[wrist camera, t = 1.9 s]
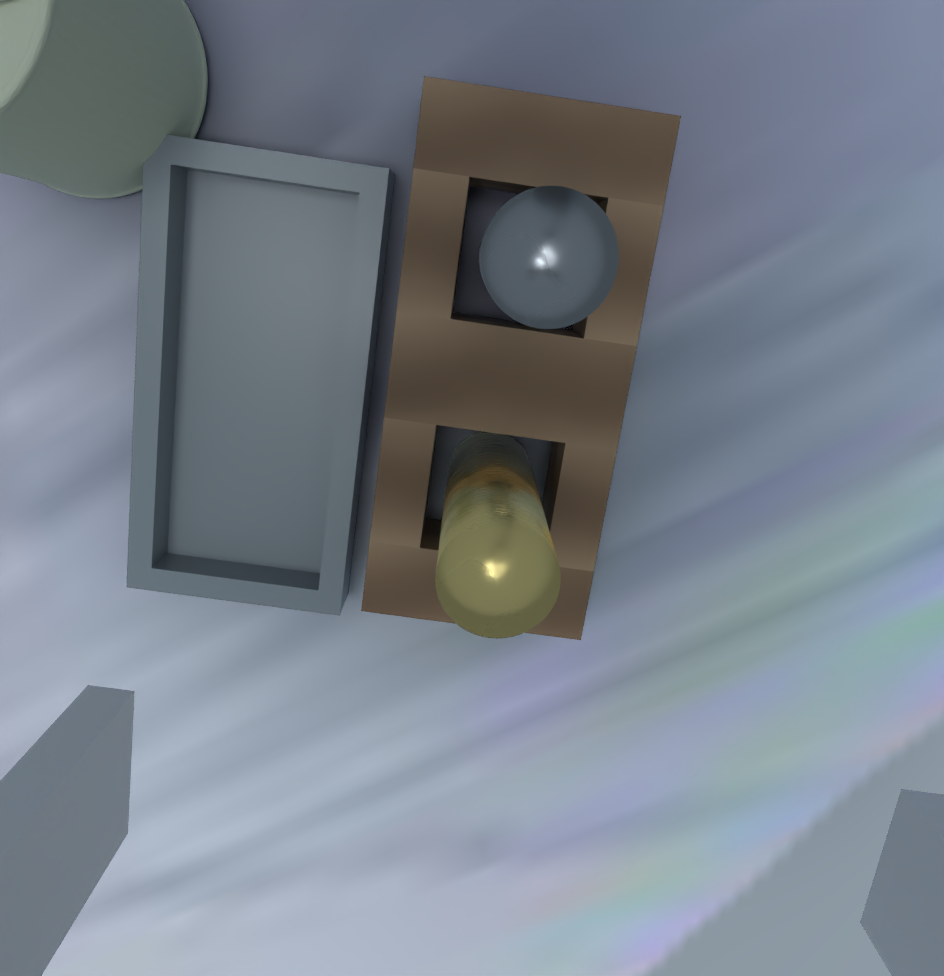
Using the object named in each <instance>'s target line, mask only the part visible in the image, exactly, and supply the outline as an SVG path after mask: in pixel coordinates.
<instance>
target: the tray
mask: <svg viewBox="0 0 944 976" xmlns="http://www.w3.org/2000/svg"><path fill="white" fill-rule="evenodd" d="M394 181H395V174H394V173H393V172H392V171H391V170H390V169H389V168H384V167H377V166H370V165H364V164H357V163H351V162H344V161H337V160H331V159H324V158H318V157H311V156H304V155H298V154H291V153H284V152H278V151H271V150H265V149H258V148H251V147H245V146H238V145H232V144H225V143H218V142H212V141H205V140H198V139H192V138H185V137H179V136H172V135H166V137H165V138H164V140H163V141H162V143H161V144H160V146H159V147H158V148H157V149H156V150H155V152H154V153H153V154H152V155H151V156H150V157H149V158H148V159H147V160H146V161H145V162H144V163H143V186H142V211H141V236H140V261H139V286H138V312H137V337H136V362H135V387H134V412H133V438H132V463H131V488H130V513H129V538H128V564H127V587H128V588H136V589H144V590H151V591H159V592H166V593H174V594H181V595H189V596H197V597H204V598H212V599H219V600H227V601H234V602H242V603H250V604H257V605H265V606H272V607H280V608H287V609H295V610H303V611H310V612H318V613H325V614H333V615H340V614H341V611H342V608H343V606H344V603H345V600H346V598H347V595H348V590H349V582H350V573H351V564H352V555H353V546H354V537H355V528H356V519H357V510H358V501H359V493H360V484H361V475H362V466H363V457H364V448H365V439H366V430H367V421H368V412H369V404H370V395H371V386H372V377H373V368H374V359H375V350H376V341H377V332H378V323H379V315H380V306H381V297H382V288H383V279H384V270H385V261H386V252H387V243H388V234H389V226H390V217H391V208H392V199H393V190H394Z"/></svg>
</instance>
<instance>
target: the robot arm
mask: <svg viewBox="0 0 944 976" xmlns="http://www.w3.org/2000/svg"><path fill="white" fill-rule="evenodd" d="M133 711H134V691H129V690H121V689H114V688H106V687H98V686H90V685H88V686H87V687H86V688H85V689H84V690H83V691H82V692H81V694H80V695H79V696H78V697H77V698H76V699H75V700H74V701H73V702H72V703H71V704H70V706H69V707H68V708H67V709H66V710H65V711H64V712H63V713H62V714H61V715H60V716H59V718H58V719H57V720H56V721H55V722H54V723H53V724H52V725H51V726H50V727H49V728H48V730H47V731H46V732H45V733H44V734H43V735H42V736H41V737H40V738H39V739H38V740H37V742H36V743H35V744H34V745H33V746H32V747H31V748H30V749H29V750H28V751H27V753H26V754H25V755H24V756H23V757H22V758H21V759H20V760H19V761H18V762H17V763H16V765H15V766H14V767H13V768H12V769H11V770H10V771H9V772H8V773H7V774H6V775H5V777H4V778H3V779H2V780H1V781H0V976H41V975H42V974H43V972H44V970H45V969H46V967H47V965H48V964H49V962H50V960H51V959H52V957H53V956H54V954H55V952H56V951H57V949H58V947H59V946H60V944H61V942H62V941H63V939H64V937H65V936H66V934H67V932H68V931H69V929H70V927H71V926H72V924H73V923H74V921H75V919H76V918H77V916H78V914H79V913H80V911H81V909H82V908H83V906H84V904H85V903H86V901H87V899H88V898H89V896H90V895H91V893H92V891H93V890H94V888H95V886H96V885H97V883H98V881H99V880H100V878H101V876H102V875H103V873H104V871H105V870H106V868H107V867H108V865H109V863H110V862H111V860H112V858H113V857H114V855H115V853H116V852H117V850H118V848H119V847H120V845H121V843H122V842H123V840H124V839H125V837H126V835H127V834H128V818H129V797H130V775H131V754H132V733H133ZM860 923H861V924H862V926H863V928H864V930H865V931H866V933H867V935H868V936H869V938H870V940H871V941H872V943H873V945H874V946H875V948H876V950H877V951H878V953H879V955H880V957H881V958H882V960H883V962H884V963H885V965H886V967H887V968H888V970H889V972H890V973H891V975H892V976H944V795H943V794H935V793H927V792H919V791H912V790H903V789H901V792H900V795H899V798H898V801H897V805H896V808H895V811H894V814H893V818H892V821H891V824H890V827H889V831H888V834H887V837H886V840H885V843H884V847H883V850H882V853H881V856H880V860H879V863H878V866H877V869H876V873H875V876H874V879H873V882H872V886H871V889H870V892H869V895H868V898H867V902H866V906H865V908H864V911H863V915H862V918H861V921H860Z"/></svg>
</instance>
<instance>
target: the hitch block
mask: <svg viewBox="0 0 944 976" xmlns="http://www.w3.org/2000/svg"><path fill="white" fill-rule="evenodd" d="M680 119H681V116H677V115H671V114H664V113H658V112H651V111H645V110H639V109H632V108H626V107H619V106H613V105H606V104H600V103H593V102H587V101H581V100H574V99H568V98H561V97H555V96H548V95H542V94H536V93H529V92H523V91H516V90H510V89H503V88H497V87H490V86H484V85H478V84H471V83H465V82H458V81H452V80H445V79H439V78H433V77H426V76H424V81H423V90H422V98H421V107H420V115H419V124H418V132H417V141H416V149H415V158H414V166H413V175H412V183H411V192H410V200H409V209H408V217H407V226H406V234H405V243H404V251H403V260H402V268H401V277H400V285H399V294H398V303H397V311H396V320H395V328H394V337H393V345H392V354H391V362H390V371H389V379H388V388H387V396H386V405H385V413H384V422H383V430H382V439H381V447H380V456H379V464H378V473H377V481H376V490H375V499H374V507H373V516H372V524H371V533H370V541H369V550H368V558H367V567H366V575H365V584H364V592H363V601H362V609H361V611H365V612H373V613H380V614H388V615H395V616H403V617H411V618H418V619H426V620H433V621H441V622H448V623H455V622H454V621H453V620H452V619H451V618H450V617H449V616H448V615H447V613H446V612H445V610H444V609H443V607H442V605H441V603H440V601H439V598H438V595H437V591H436V583H435V576H436V566H437V558H438V550H439V541H440V533H441V525H442V521H441V520H434V519H426V518H425V516H426V509H427V501H428V494H429V486H430V479H431V472H432V464H433V457H434V449H435V442H436V434H437V427H438V425H441V426H448V427H455V428H462V429H469V430H476V431H483V432H490V433H498V434H505V435H512V436H519V437H526V438H533V439H540V440H547V441H553V443H552V449H551V455H550V461H549V466H548V472H547V478H546V484H545V490H544V496H543V502H542V507H543V510H544V514H545V517H546V521H547V525H548V528H549V532H550V535H551V539H552V542H553V546H554V549H555V553H556V557H557V560H558V564H559V568H560V575H561V583H560V590H559V594H558V597H557V600H556V602H555V604H554V606H553V608H552V610H551V611H550V612H549V614H548V615H547V616H546V617H545V618H544V619H543V620H542V621H541V622H540V623H539V624H538V625H536V626H535V627H534V628H532V629H530V630H529V631H527V632H524V633H531V634H539V635H546V636H554V637H562V638H569V639H577V640H581V636H582V631H583V625H584V620H585V615H586V610H587V605H588V599H589V594H590V589H591V584H592V578H593V573H594V568H595V563H596V558H597V552H598V547H599V542H600V537H601V531H602V526H603V521H604V516H605V511H606V505H607V500H608V495H609V490H610V484H611V479H612V474H613V469H614V464H615V458H616V453H617V448H618V443H619V437H620V432H621V427H622V422H623V417H624V411H625V406H626V401H627V396H628V390H629V385H630V380H631V375H632V370H633V364H634V359H635V354H636V349H637V343H638V338H639V333H640V328H641V323H642V317H643V312H644V307H645V302H646V296H647V291H648V286H649V281H650V276H651V270H652V265H653V260H654V255H655V249H656V244H657V239H658V234H659V229H660V223H661V218H662V213H663V208H664V202H665V197H666V192H667V187H668V182H669V176H670V171H671V166H672V161H673V155H674V150H675V145H676V140H677V135H678V129H679V124H680ZM470 186H472V187H478V188H485V189H492V190H498V191H505V192H511V193H518V194H520V193H522V192H524V191H526V190H529V189H532V188H535V187H540V186H562V187H567V188H571V189H574V190H576V191H579V192H581V193H583V194H584V195H586V196H588V197H589V198H590V199H592V200H593V201H595V202H596V203H597V204H598V205H599V206H600V207H601V208H602V210H603V211H604V212H605V214H606V215H607V217H608V218H609V220H610V222H611V223H612V226H613V228H614V231H615V234H616V237H617V241H618V248H619V263H618V270H617V274H616V278H615V281H614V283H613V286H612V288H611V290H610V292H609V294H608V295H607V297H606V298H605V300H604V301H603V302H602V304H601V305H600V306H599V307H598V308H597V309H596V310H595V311H594V312H592V313H591V314H590V315H589V316H587V317H586V318H584V319H583V320H581V321H579V322H577V323H575V324H573V326H572V330H569V329H562V328H557V329H539V328H534V327H530V326H527V325H524V324H521V323H519V322H514V321H507V320H500V319H493V318H486V317H479V316H472V315H466V314H459V313H453V308H454V300H455V293H456V285H457V278H458V271H459V263H460V256H461V248H462V241H463V233H464V226H465V218H466V211H467V204H468V196H469V189H470Z"/></svg>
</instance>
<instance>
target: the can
mask: <svg viewBox="0 0 944 976" xmlns="http://www.w3.org/2000/svg"><path fill="white" fill-rule="evenodd" d="M207 86H208V75H207V63H206V56H205V51H204V46H203V43H202V39H201V35H200V32H199V30H198V27H197V25H196V22H195V20H194V18H193V16H192V14H191V12H190V10H189V8H188V6H187V4H186V3H185V1H184V0H0V173H4V174H8V175H12V176H16V177H20V178H24V179H28V180H32V181H36V182H39V183H42V184H44V185H46V186H48V187H50V188H53V189H55V190H57V191H60V192H63V193H66V194H69V195H73V196H78V197H84V198H96V199H103V198H115V197H121V196H125V195H129V194H132V193H135V192H138V191H140V190H142V186H143V163H144V162H145V161H146V160H147V159H148V158H149V157H150V156H151V155H152V154H153V153H154V152H155V150H156V149H157V148H158V147H159V146H160V144H161V143H162V141H163V140H164V138H165V137H166V135H172V136H179V137H185V138H192V139H195V136H196V134H197V132H198V130H199V127H200V124H201V121H202V118H203V114H204V110H205V105H206V98H207Z"/></svg>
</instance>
